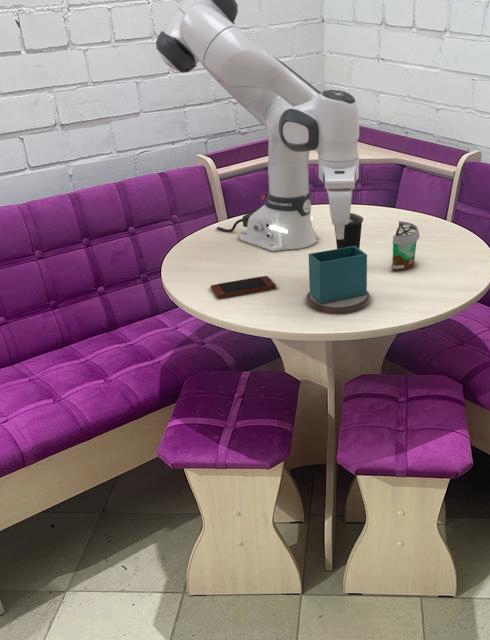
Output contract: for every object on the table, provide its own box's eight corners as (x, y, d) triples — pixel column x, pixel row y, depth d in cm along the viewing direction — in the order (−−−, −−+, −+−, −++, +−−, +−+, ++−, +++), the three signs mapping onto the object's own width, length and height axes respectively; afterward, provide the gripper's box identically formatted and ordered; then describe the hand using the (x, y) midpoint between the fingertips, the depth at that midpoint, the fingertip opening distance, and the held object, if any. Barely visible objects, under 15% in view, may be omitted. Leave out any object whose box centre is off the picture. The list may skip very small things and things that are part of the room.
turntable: (294, 305, 177) (294, 299, 176) (328, 283, 188) (328, 277, 187) (349, 319, 170) (349, 313, 170) (380, 295, 181) (380, 289, 180)
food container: (415, 275, 192) (417, 237, 187) (391, 273, 193) (392, 236, 188) (420, 257, 202) (422, 221, 197) (398, 256, 203) (399, 220, 198)
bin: (366, 294, 178) (367, 254, 173) (320, 303, 174) (319, 263, 169) (354, 284, 183) (354, 245, 178) (309, 293, 179) (308, 253, 174)
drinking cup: (348, 261, 201) (347, 187, 190) (368, 269, 196) (369, 193, 186) (327, 269, 196) (326, 194, 186) (348, 277, 191) (348, 200, 181)
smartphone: (276, 284, 185) (217, 295, 180) (276, 288, 185) (217, 298, 180) (267, 274, 190) (209, 284, 186) (267, 278, 191) (210, 288, 186)
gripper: (323, 158, 172) (324, 216, 179) (324, 183, 155) (326, 247, 162) (351, 158, 172) (351, 216, 180) (355, 183, 155) (355, 246, 162)
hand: (339, 231), depth 171 cm, fingers open, 8 cm apart
